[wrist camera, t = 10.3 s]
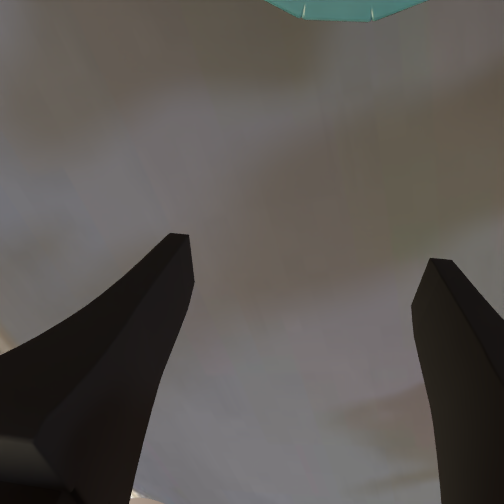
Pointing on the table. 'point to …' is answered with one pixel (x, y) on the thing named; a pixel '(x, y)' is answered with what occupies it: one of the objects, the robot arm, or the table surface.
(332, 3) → the cup
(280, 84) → the table surface
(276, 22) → the table surface
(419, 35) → the table surface
